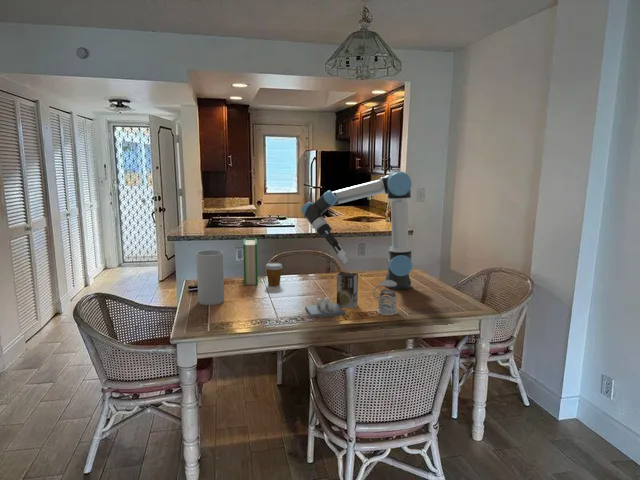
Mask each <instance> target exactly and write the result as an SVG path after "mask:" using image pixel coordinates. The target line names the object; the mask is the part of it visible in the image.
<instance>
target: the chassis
mask: <svg viewBox="0 0 640 480" xmlns="http://www.w3.org/2000/svg"><path fill="white" fill-rule="evenodd" d="M304 307H305V308H304V309H305V311H306V312H307V313H308V315H309V317H310V318H313V319H314V318H326V317H335V316H345V315H346V311H345V310H344V309H343V307H340V306H339V305H338V304H337V302H336V303H334V301H330V297H324V299H323V298H321V297H317V298H316V304H314V305H313V304H311V305H305V306H304Z"/></svg>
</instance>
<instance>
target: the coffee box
mask: <svg viewBox="0 0 640 480" xmlns="http://www.w3.org/2000/svg"><path fill="white" fill-rule="evenodd" d="M358 293H359V273H356V272H348V271H340V272H339V273H338V274H336V303H337V304H338V305H339V306H340V307H341V308H346V309H347V308H349V309H353V310H354V309H355V308H356V307H357V306H358V304H359V303H358V301H359V299H358V297H359V295H358Z"/></svg>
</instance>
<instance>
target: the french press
mask: <svg viewBox="0 0 640 480" xmlns="http://www.w3.org/2000/svg"><path fill="white" fill-rule="evenodd" d="M388 263H391V260H388V259H387V264H388ZM396 285H397V283H396V282H394V281H392V280H389V276H388V280H385V279H383V280H382V281H380V282H379V284H378V285H377V286H375V287H374V289H373V292H375V291H376V289H377V288H381V286H383V287H385V286H387V287H394V286H396ZM387 287H386V288H387ZM396 293H397V292H396V291H395V289H390V288H387V289H381V290H380V293H379V298H378V297H376V295H375V294H373V298H374V299H375V300H376V301H378V309H377V310H376V313H378V314H380V315H383V316H384V315H385V316H394V314H395V315H397V314H398V313H397V312H398V310H397V308H396V307H397V295H396Z"/></svg>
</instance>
